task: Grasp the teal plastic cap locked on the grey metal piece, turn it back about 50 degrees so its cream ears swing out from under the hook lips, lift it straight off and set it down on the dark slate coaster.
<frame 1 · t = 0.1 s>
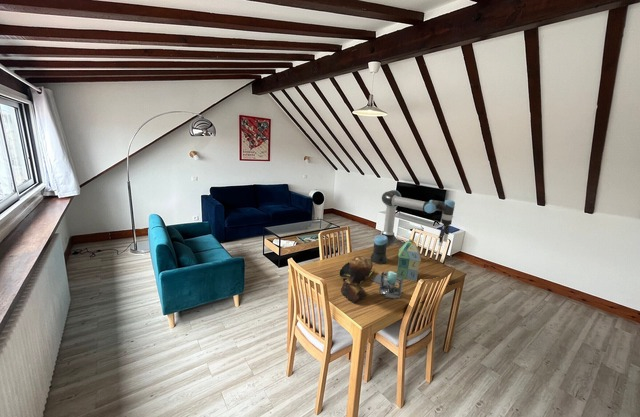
hand: (442, 243, 230), 28 cm above the table, fingers open, 13 cm apart
toy house: (406, 275, 232), on the table
coaster: (381, 280, 221), on the table
mask: (355, 275, 227), on the table
grey metal piece: (390, 292, 204), on the table
bust: (354, 293, 201), on the table
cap: (391, 281, 202), point 9 cm above the table, touching grey metal piece
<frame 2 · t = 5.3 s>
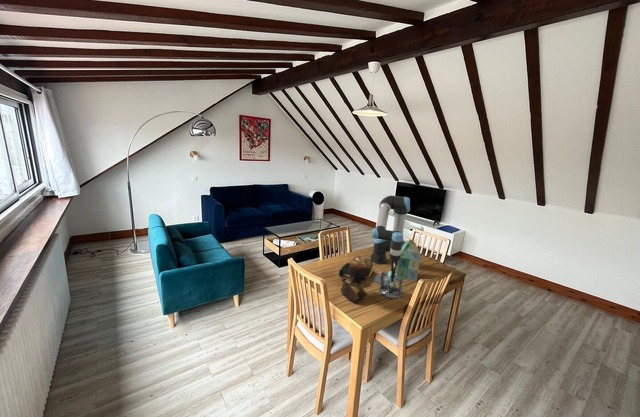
hand: (391, 283, 202), 8 cm above the table, fingers closed on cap, 6 cm apart
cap: (391, 281, 202), point 9 cm above the table, touching gripper, grey metal piece
when the fingers open (2 cm above the table, at t = 12.7 s): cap drops 3 cm, resting on coaster.
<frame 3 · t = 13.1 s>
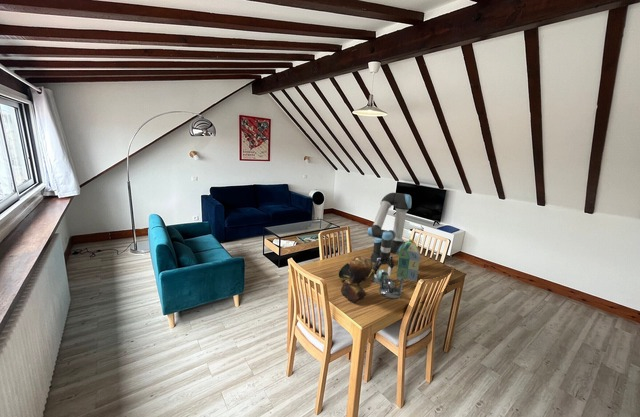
hand: (382, 276, 220), 4 cm above the table, fingers open, 12 cm apart
mask: (354, 276, 225), on the table
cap: (382, 279, 221), point 1 cm above the table, touching coaster
everything else where it was.
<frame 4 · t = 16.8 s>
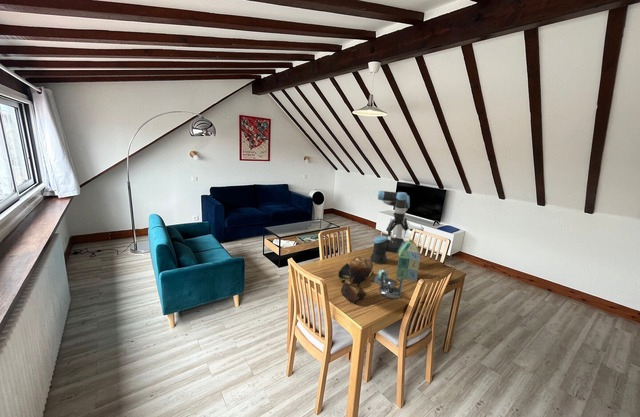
hand: (396, 238, 216), 35 cm above the table, fingers open, 13 cm apart
at the end: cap inside the target area on the coaster (0.2 cm from its centre), point 0.8 cm above the coaster's base; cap tilted 0°; the gripper is holding nothing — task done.
